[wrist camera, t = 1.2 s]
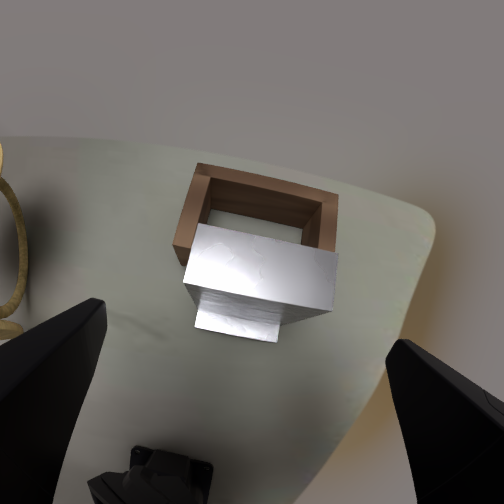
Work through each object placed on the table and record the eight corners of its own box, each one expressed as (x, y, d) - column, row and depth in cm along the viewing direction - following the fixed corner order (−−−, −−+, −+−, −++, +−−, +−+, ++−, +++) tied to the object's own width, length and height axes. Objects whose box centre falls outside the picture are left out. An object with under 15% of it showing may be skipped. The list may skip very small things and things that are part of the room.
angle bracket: (274, 342, 21) (328, 341, 11) (195, 327, 21) (176, 313, 10) (284, 279, 23) (340, 227, 12) (209, 264, 22) (205, 196, 12)
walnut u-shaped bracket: (308, 291, 23) (332, 277, 18) (181, 265, 22) (172, 244, 18) (316, 221, 25) (338, 194, 20) (200, 195, 24) (197, 162, 20)
